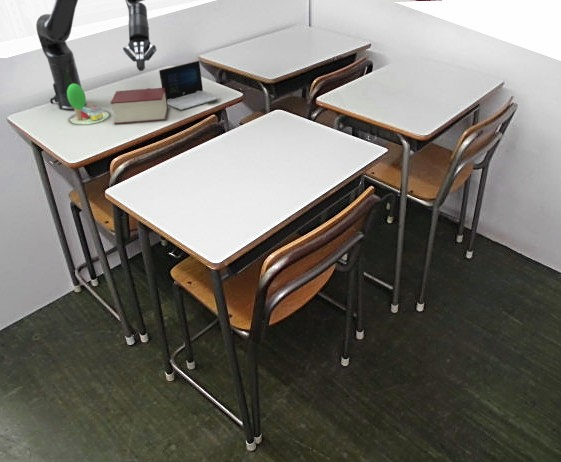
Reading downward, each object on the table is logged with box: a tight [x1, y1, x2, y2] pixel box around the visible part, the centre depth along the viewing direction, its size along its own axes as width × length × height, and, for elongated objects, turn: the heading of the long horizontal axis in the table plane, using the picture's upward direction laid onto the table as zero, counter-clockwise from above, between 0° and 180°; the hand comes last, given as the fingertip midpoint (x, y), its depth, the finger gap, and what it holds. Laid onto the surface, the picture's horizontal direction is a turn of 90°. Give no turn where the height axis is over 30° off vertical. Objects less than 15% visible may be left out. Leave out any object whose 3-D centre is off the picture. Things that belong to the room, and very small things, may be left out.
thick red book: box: [110, 87, 169, 125], centre depth 194 cm, size 18×13×8 cm
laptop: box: [158, 60, 220, 111], centre depth 203 cm, size 18×12×13 cm
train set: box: [67, 84, 110, 125], centre depth 193 cm, size 15×14×14 cm
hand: (141, 69), depth 202 cm, fingers closed
